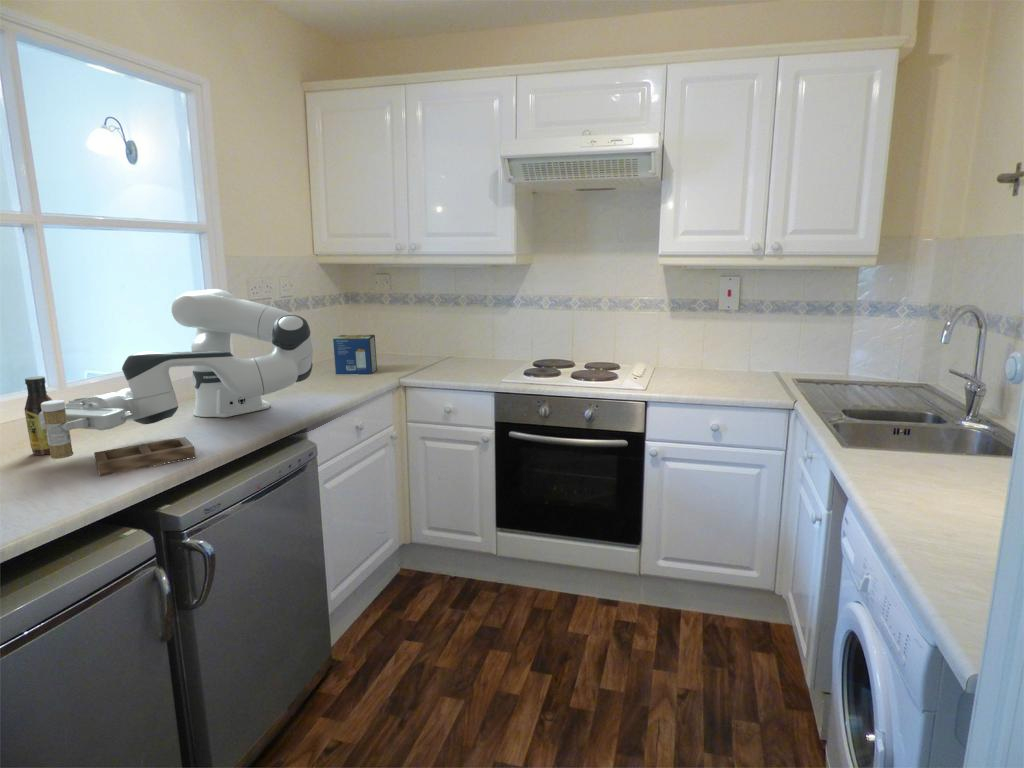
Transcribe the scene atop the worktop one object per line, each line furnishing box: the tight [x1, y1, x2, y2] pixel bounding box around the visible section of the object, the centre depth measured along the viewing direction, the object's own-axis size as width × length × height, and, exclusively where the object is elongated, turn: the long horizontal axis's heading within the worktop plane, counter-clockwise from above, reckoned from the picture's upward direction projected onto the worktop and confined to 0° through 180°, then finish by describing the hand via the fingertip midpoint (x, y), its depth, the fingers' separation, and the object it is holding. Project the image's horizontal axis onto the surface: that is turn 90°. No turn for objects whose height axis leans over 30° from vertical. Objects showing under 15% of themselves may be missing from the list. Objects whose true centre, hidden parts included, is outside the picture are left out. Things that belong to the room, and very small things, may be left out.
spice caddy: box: [93, 436, 196, 477], centre depth 152 cm, size 20×11×3 cm, turn 128°
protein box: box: [332, 334, 378, 375], centre depth 263 cm, size 10×15×16 cm
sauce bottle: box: [24, 375, 53, 456], centre depth 159 cm, size 6×6×20 cm
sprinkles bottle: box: [41, 399, 74, 460], centre depth 146 cm, size 5×5×14 cm
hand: (53, 426), depth 145 cm, fingers closed on sprinkles bottle, 4 cm apart
